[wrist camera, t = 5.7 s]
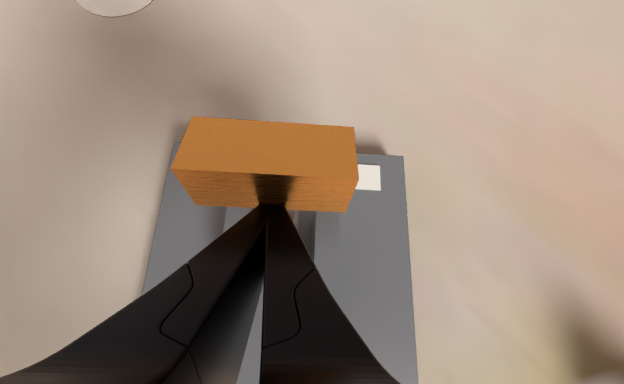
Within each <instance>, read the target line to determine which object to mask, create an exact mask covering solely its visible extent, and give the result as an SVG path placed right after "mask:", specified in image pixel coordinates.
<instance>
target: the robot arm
mask: <svg viewBox="0 0 624 384" xmlns="http://www.w3.org/2000/svg"><path fill="white" fill-rule="evenodd" d="M187 263H188V264H187ZM187 263H185V264H183V265H182V266H181V267H180V268H178V269H177V270H176V271H175V272H173V273H172V274H171V275H169V276H168V277H167V278H165V279H164V280H163V281H161V282H160V283H159V284H157V285H156V286H155V287H153V288H152V289H150V290H149V291H147V292H146V293H145V294H143V295H142V296H140V297H139V298H137V299H136V300H135V301H133V302H132V303H130V304H129V305H127V306H126V307H124V308H123V309H121V310H120V311H118V312H117V313H115V314H114V315H112V316H111V317H109V318H108V319H106V320H105V321H103V322H102V323H100V324H99V325H97V326H96V327H94V328H93V329H92V330H90V331H89V332H87V333H86V334H84V335H83V336H81V337H80V338H78V339H77V340H75V341H74V342H72V343H71V344H69V345H68V346H66V347H64V348H63V349H61V350H60V351H58V352H56V353H54V354H53V355H51V356H49V357H47V358H46V359H44V360H42V361H40V362H38V363H35V364H33V365H31V366H29V367H27V368H24V369H22V370H19V371H17V372H14V373H12V374H9V375H6V376H3V377H0V384H236V383H237V379H238V376H239V372H240V368H241V364H242V361H243V357H244V353H245V350H246V346H247V342H248V338H249V335H250V331H251V327H252V324H253V320H254V316H255V312H256V309H257V305H258V301H259V297H260V294H261V290H262V286H263V310H262V335H261V360H260V377H259V384H401V383H400V382H398V381H397V380H396V379H395V378H394V377H393V376H392V375H390V373H389V372H388V371H387V370H386V369H385V368H384V367H383V366H382V365H381V364H380V362H379V361H378V360H377V359H376V357H375V356H374V355H373V353H372V352H371V351H370V349H369V348H368V346H367V345H366V343H365V342H364V341H363V339H362V338H361V336H360V335H359V334H358V332H357V331H356V329H355V328H354V326H353V325H352V324H351V322H350V321H349V319H348V318H347V317H346V315H345V314H344V312H343V311H342V309H341V308H340V306H339V305H338V303H337V302H336V300H335V299H334V297H333V296H332V294H331V293H330V291H329V289H328V288H327V286H326V284H325V282H324V280H323V279H322V277H321V275H320V273H319V271H318V269H317V268H316V265H315V263H314V261H313V259H312V258H311V256H310V254H309V252H308V250H307V248H306V246H305V244H304V242H303V240H302V238H301V236H300V234H299V232H298V230H297V228H296V226H295V224H294V222H293V220H292V219H291V217H290V215H289V213H288V211H287V209H286V207H285V206H284V205H273V206H272V205H268V204H259V205H258V206H257V207H255V208H254V209H253V210H252V211H250V212H249V213H248V214H246V215H245V216H244V217H243V218H241V219H240V220H239V221H238V222H236V223H235V224H234V225H233V226H231V227H230V228H229V229H228V230H226V231H225V232H224V233H223V234H221V235H220V236H219V237H218V238H216V239H215V240H214V241H212V242H211V243H210V244H209V245H207V246H206V247H205V248H204V249H202V250H201V251H200V252H199V253H197V254H196V255H195V256H194V257H192V258H191V259H190V260H189V261H188V262H187ZM263 283H264V285H263Z"/></svg>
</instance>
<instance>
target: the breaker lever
mask: <svg viewBox="0 0 624 384" xmlns="http://www.w3.org/2000/svg"><path fill="white" fill-rule="evenodd" d="M170 169H171V170H172V171H173V173H174V174H175V176H176V177H177V179H178V180H179V181H180V183H181V184H182V186H183V187H184V189H185V190H186V191H187V193H188V194H189V196H190V197H191V199H192V200H193V201H194V203H195V204H196V205H201V206H221V207H241V208H255V207H257V206H258V205H259V204H268V205H272V206H273V205H284V206H285V207H286V209H287V211H288V213H289V215H290V217H291V219H292V220H293V222H294V224H295V226H296V228H297V230H298V219H299V210H301V211H321V212H341V213H346V210H347V208H348V205H349V203H350V200H351V198H352V196H353V193H354V191H355V188H356V186H357V183H358V181H359V173H358V163H357V153H356V143H355V133H354V127H343V126H328V125H313V124H298V123H283V122H268V121H253V120H238V119H223V118H208V117H193V116H192V118H191V120H190V123H189V125H188V127H187V130H186V132H185V135H184V137H183V139H182V142H181V144H180V147H179V149H178V152H177V154H176V156H175V159H174V161H173V164H172V166H171V168H170Z"/></svg>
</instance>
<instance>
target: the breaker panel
mask: <svg viewBox="0 0 624 384" xmlns="http://www.w3.org/2000/svg"><path fill="white" fill-rule="evenodd" d="M180 144H181V142H174V144H173V149H172V154H171V158H170V163H169V168H168V173H167V177H166V182H165V187H164V192H163V196H162V201H161V206H160V211H159V215H158V220H157V225H156V230H155V234H154V239H153V244H152V248H151V253H150V258H149V263H148V267H147V272H146V277H145V282H144V286H143V291H142V295H143V294H145V293H146V292H147V291H149V290H150V289H152V288H153V287H155V286H156V285H157V284H159V283H160V282H161V281H163V280H164V279H165V278H167V277H168V276H169V275H171V274H172V273H173V272H175V271H176V270H177V269H178V268H180V267H181V266H182V265H183V264H185V263H187V262H188V261H189V260H190V259H191V258H192V257H194V256H195V255H196V254H197V253H199V252H200V251H201V250H202V249H204V248H205V247H206V246H207V245H209V244H210V243H211V242H212V241H214V240H215V239H216V238H218V237H219V236H220V235H221V234H223V233H224V232H225V231H226V230H228V229H229V228H230V227H231V226H233V225H234V224H235V223H236V222H238V221H239V220H240V219H241V218H243V217H244V216H245V215H246V214H248V213H249V212H250V211H252V210H253V209H254V208H241V207H221V206H201V205H196V204H195V203H194V201H193V200H192V199H191V197H190V196H189V194H188V193H187V191H186V190H185V189H184V187H183V186H182V184H181V183H180V181H179V180H178V179H177V177H176V176H175V174H174V173H173V171H172V170H171V169H170V168H171V166H172V164H173V161H174V159H175V156H176V154H177V152H178V149H179V147H180ZM357 163H358V173H359V181H358V183H357V186H356V188H355V191H354V193H353V196H352V198H351V200H350V203H349V205H348V208H347V210H346V213H341V212H321V211H301V210H299V219H298V232H299V234H300V236H301V238H302V240H303V242H304V244H305V246H306V248H307V250H308V252H309V254H310V256H311V258H312V259H313V261H314V263H315V265H316V268H317V269H318V271H319V273H320V275H321V277H322V279H323V280H324V282H325V284H326V286H327V288H328V289H329V291H330V293H331V294H332V296H333V297H334V299H335V300H336V302H337V303H338V305H339V306H340V308H341V309H342V311H343V312H344V314H345V315H346V317H347V318H348V319H349V321H350V322H351V324H352V325H353V326H354V328H355V329H356V331H357V332H358V334H359V335H360V336H361V338H362V339H363V341H364V342H365V343H366V345H367V346H368V348H369V349H370V351H371V352H372V353H373V355H374V356H375V357H376V359H377V360H378V361H379V362H380V364H381V365H382V366H383V367H384V368H385V369H386V370H387V371H388V372H389V373H390V375H392V376H393V377H394V378H395V379H396V380H397V381H398V382H400V383H401V384H418V371H417V355H416V340H415V325H414V310H413V295H412V280H411V265H410V250H409V235H408V219H407V204H406V189H405V174H404V159H403V156H393V155H377V154H361V153H357ZM187 264H188V263H187ZM263 285H264V283H263ZM262 310H263V286H262V290H261V294H260V297H259V301H258V305H257V309H256V312H255V316H254V320H253V324H252V327H251V331H250V335H249V338H248V342H247V346H246V350H245V353H244V357H243V361H242V364H241V368H240V372H239V376H238V379H237V383H236V384H259V377H260V360H261V335H262Z"/></svg>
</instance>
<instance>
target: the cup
mask: <svg viewBox="0 0 624 384" xmlns="http://www.w3.org/2000/svg"><path fill="white" fill-rule="evenodd" d="M76 1H77V2H78V3H79V4H80V5H81V6H82V7H83V8H84V9H85V10H87V11H89V12H91V13H93V14H96V15H100V16H108V17H116V16H123V15H128V14H131V13H134V12H136V11H138V10H140V9H142V8H144V7H145V6H147V5H148V4H149V3H150V2H151V1H152V0H76Z"/></svg>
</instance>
